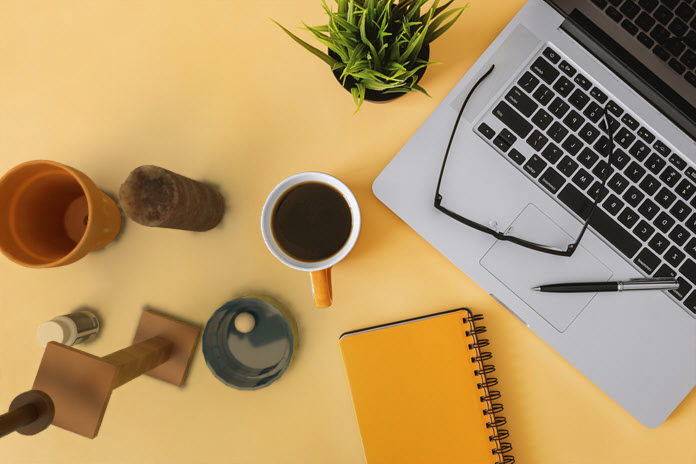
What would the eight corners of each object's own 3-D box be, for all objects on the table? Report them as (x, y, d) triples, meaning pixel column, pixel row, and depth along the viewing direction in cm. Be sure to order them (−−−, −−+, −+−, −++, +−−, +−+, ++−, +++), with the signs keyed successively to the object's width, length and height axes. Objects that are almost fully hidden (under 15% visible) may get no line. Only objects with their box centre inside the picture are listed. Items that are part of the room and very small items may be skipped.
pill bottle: (73, 308, 75) (35, 315, 67) (102, 313, 75) (68, 320, 66) (68, 339, 75) (30, 350, 67) (97, 343, 75) (62, 355, 66)
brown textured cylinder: (237, 216, 75) (188, 202, 55) (198, 243, 75) (135, 239, 55) (210, 175, 75) (152, 147, 55) (172, 202, 75) (99, 184, 55)
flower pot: (124, 163, 76) (73, 145, 63) (150, 249, 75) (104, 249, 62) (40, 191, 76) (-27, 178, 63) (65, 277, 75) (1, 282, 62)
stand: (182, 384, 74) (94, 446, 50) (128, 365, 74) (16, 417, 51) (201, 328, 74) (122, 363, 51) (147, 309, 75) (44, 335, 51)
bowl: (283, 392, 73) (276, 403, 68) (203, 364, 74) (189, 373, 68) (310, 310, 73) (305, 314, 68) (230, 283, 74) (219, 285, 69)
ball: (253, 333, 73) (248, 337, 70) (235, 327, 73) (229, 330, 70) (259, 314, 73) (255, 317, 70) (241, 308, 73) (235, 310, 70)
